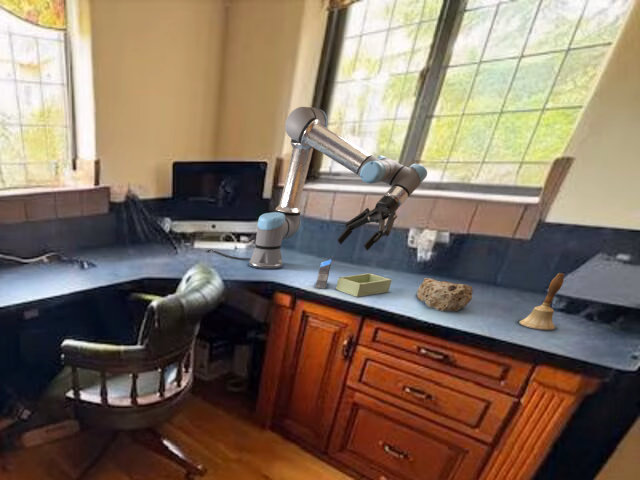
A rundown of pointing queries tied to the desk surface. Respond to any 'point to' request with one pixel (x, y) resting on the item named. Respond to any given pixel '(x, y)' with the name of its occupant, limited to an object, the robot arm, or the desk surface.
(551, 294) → the hand bell
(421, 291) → the rock
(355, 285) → the dock
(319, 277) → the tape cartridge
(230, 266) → the desk surface
